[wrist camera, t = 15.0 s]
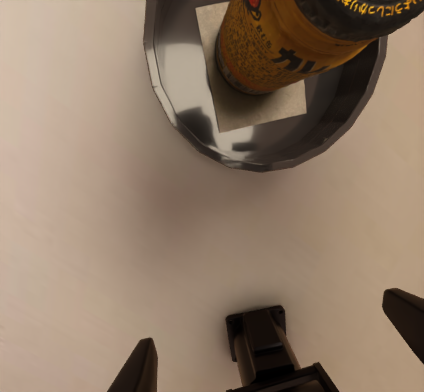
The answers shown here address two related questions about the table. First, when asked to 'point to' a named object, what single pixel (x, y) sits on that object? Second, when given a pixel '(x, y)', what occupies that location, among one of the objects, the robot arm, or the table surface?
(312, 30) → the condiment
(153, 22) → the pan
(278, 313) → the robot arm
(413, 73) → the table surface
